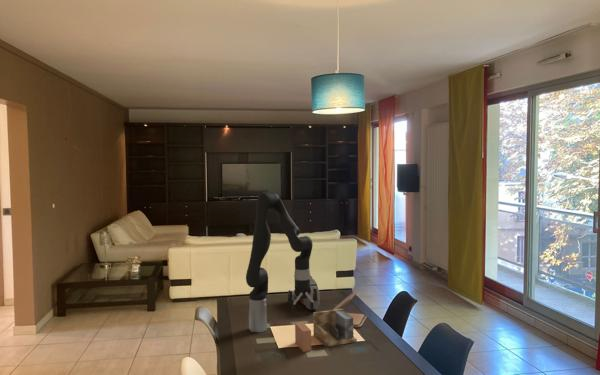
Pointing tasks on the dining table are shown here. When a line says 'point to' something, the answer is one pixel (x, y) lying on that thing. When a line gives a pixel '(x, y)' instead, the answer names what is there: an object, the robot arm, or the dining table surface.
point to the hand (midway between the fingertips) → (302, 310)
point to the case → (357, 318)
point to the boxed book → (303, 336)
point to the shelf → (333, 327)
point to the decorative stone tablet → (306, 301)
